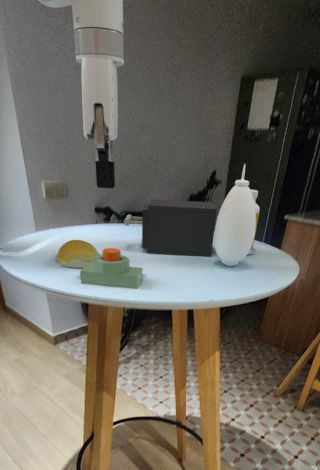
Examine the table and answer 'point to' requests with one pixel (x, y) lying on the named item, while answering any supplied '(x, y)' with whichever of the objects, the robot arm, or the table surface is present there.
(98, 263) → the box
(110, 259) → the button
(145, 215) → the drawer
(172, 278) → the table surface
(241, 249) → the sauce bottle
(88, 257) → the bread roll
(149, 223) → the box
